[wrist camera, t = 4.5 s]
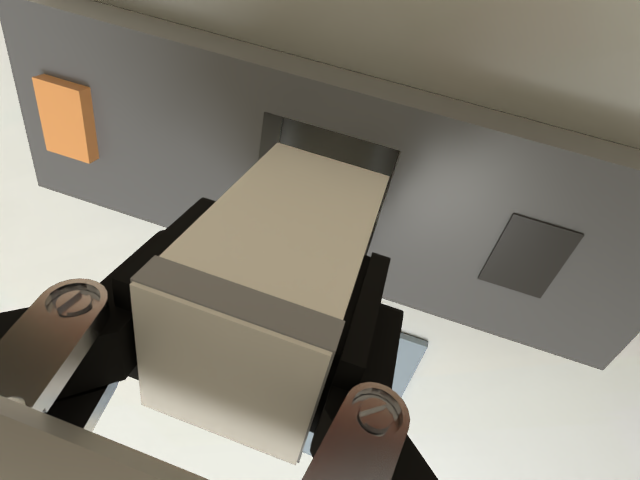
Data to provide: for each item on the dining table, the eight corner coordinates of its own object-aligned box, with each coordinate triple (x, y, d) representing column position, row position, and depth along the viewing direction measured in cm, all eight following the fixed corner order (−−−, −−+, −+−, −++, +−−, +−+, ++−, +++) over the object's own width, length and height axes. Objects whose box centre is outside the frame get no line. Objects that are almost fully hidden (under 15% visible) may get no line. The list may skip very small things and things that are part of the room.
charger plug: (391, 175, 14) (334, 355, 7) (361, 268, 16) (297, 467, 10) (276, 140, 14) (127, 281, 8) (262, 236, 17) (139, 404, 10)
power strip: (717, 170, 14) (774, 214, 12) (586, 327, 19) (607, 382, 16) (48, -12, 17) (-22, -8, 14) (77, 165, 22) (28, 191, 19)
